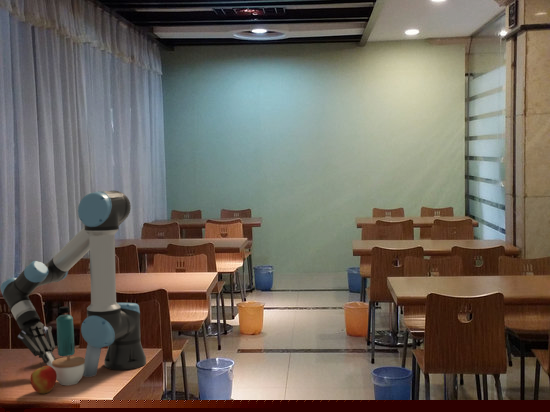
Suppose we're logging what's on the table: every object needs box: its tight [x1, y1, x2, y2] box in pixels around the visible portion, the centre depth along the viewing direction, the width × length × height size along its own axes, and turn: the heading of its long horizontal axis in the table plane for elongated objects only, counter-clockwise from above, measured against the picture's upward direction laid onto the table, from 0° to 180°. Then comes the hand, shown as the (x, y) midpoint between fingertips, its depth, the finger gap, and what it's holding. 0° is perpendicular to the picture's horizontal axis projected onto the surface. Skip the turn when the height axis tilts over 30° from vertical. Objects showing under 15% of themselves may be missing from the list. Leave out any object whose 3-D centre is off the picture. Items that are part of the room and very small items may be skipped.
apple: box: [30, 362, 57, 394], centre depth 238 cm, size 8×8×10 cm
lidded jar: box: [52, 355, 85, 386], centre depth 248 cm, size 11×11×9 cm
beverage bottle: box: [55, 306, 76, 357], centre depth 281 cm, size 6×7×20 cm
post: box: [82, 343, 102, 378], centre depth 257 cm, size 5×5×12 cm
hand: (54, 368), depth 253 cm, fingers closed
